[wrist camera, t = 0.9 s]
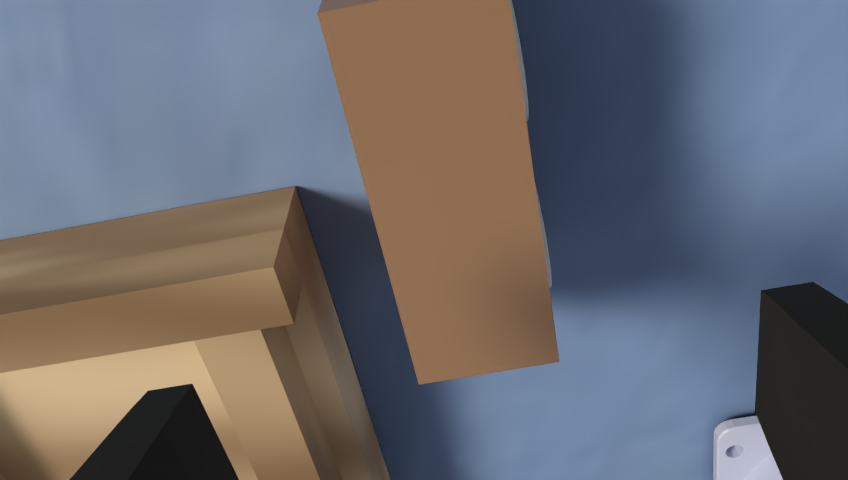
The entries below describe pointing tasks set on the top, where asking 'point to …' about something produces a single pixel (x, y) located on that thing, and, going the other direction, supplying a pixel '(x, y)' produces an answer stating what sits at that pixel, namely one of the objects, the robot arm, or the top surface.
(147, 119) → the top surface
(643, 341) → the top surface
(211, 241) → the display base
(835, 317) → the robot arm
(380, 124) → the tan wooden post
